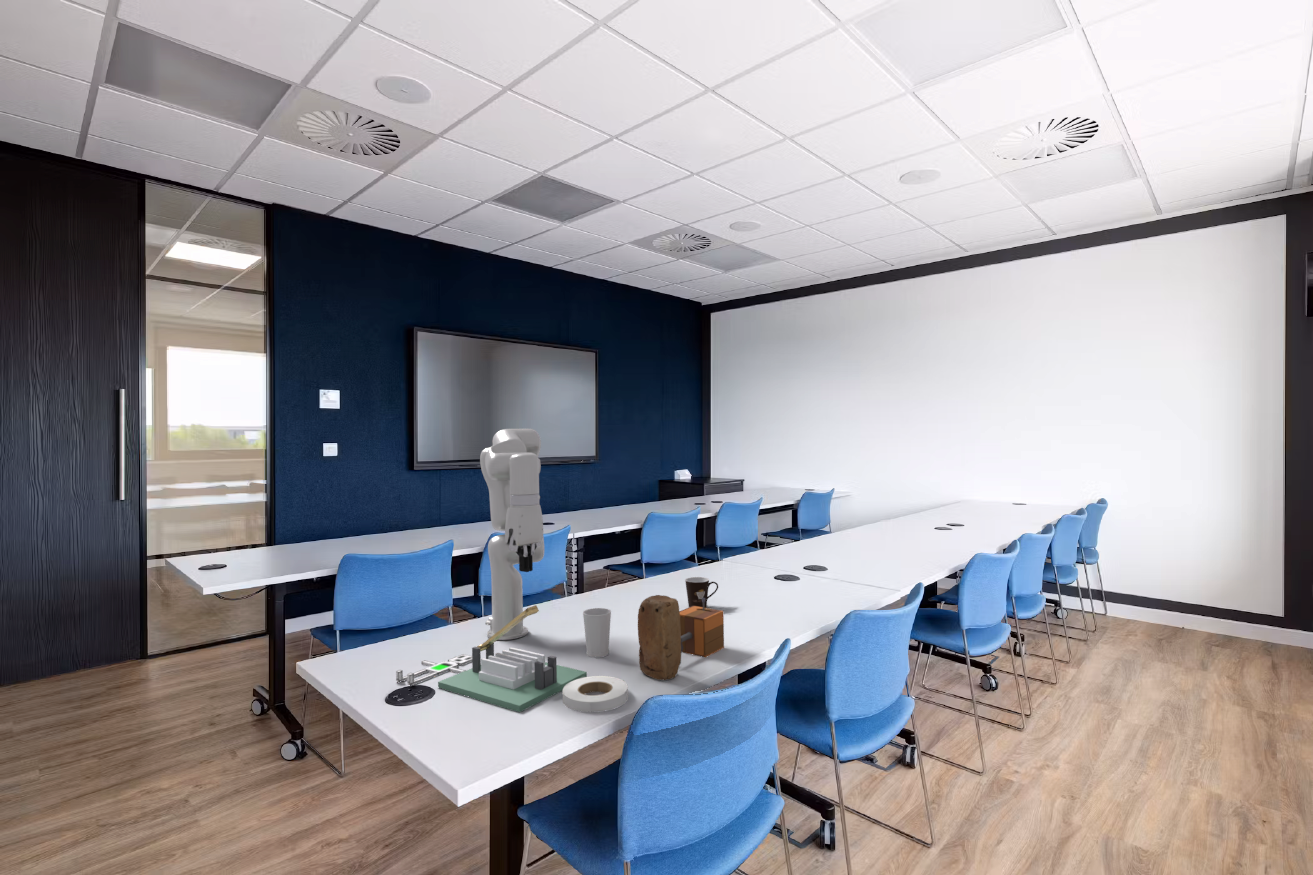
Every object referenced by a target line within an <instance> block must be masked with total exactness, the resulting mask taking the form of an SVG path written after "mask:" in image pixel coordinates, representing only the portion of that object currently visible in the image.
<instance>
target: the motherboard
mask: <svg viewBox="0 0 1313 875" xmlns="http://www.w3.org/2000/svg"><path fill="white" fill-rule="evenodd" d="M501 652H502V653H501ZM501 652H496V653H495V642H494V643H493V644H491V645H490V647H489V648H488V649H486V650H485V657H483V658H481V657H482V656H481V652H480V648H479V647H477V646H473V647H471V656H472V662H471V663H472V664H471V667H472V668H469V669H467V670H466V669H465V670H466V671H464V672H461V673H459V674H458V673H455V674H454V675H452V676H449V677H447V678H444V679H442V680H439V681H437V687H439V689H440V688H442V689H441V690H444V689H445V690H444V691H447V690H448V691H449V692H450V691H452V692H451V693H454V694H457V693H459V694H458V695H460V694H461V696H464V695H465V696H464V697H467V696H469V697H468V698H470V697H471V699H474V698H475V699H474V700H478V701H480V700H481V701H480V702H484V703H488V704H490V705H494V706H497V707H501V708H504V709H507V710H511V711H514V712H517V713H520V712H522V711H525V710H527V709H528V708H530V707H532V706H534V705H536V704H539V703H540V702H542V701H545V700H546V699H549V698H550V697H552V696H554V695H556V694H558V693H561V692H563V688H564V686H565V685H567V684H568V683H570V682H571V681H574V680H576V679H580V678H584V677H588V673H587V671H584V670H579V669H576V668H572V667H567V666H564V665H559V664H557V656H553V655H549V656H547V662H546V655H545V654H543V653H542V654H541V653H538V652H534V651H529V650H525V649H520V648H516V647H509V648H508V650H507V649H504V650H502V651H501ZM448 691H447V692H448Z"/></svg>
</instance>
